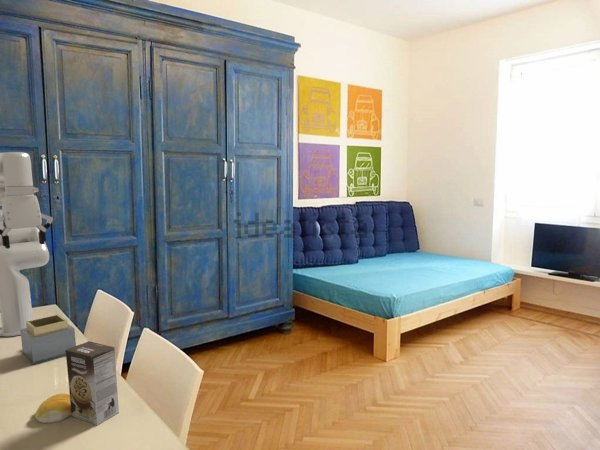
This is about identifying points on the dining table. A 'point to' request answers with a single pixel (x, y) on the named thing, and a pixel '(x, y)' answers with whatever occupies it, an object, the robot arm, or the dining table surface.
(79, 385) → the coffee box
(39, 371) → the dining table surface
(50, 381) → the dining table surface
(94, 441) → the dining table surface
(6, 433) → the dining table surface
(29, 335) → the box
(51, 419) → the bread roll
